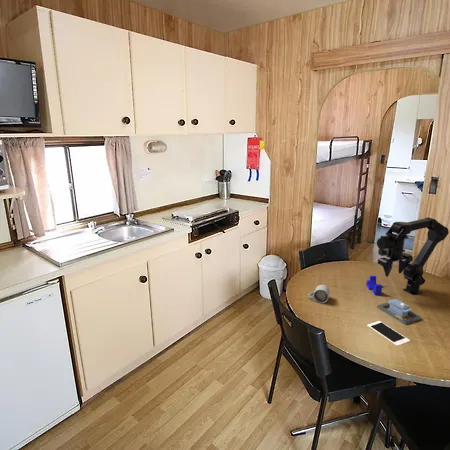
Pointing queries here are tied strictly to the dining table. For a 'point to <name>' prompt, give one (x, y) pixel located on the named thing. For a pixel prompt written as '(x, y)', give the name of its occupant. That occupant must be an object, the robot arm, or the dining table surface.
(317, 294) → the ceramic mug
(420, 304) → the dining table surface
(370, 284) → the cable clip
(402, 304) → the servo block
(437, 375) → the dining table surface
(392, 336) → the cell phone
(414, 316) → the plate
